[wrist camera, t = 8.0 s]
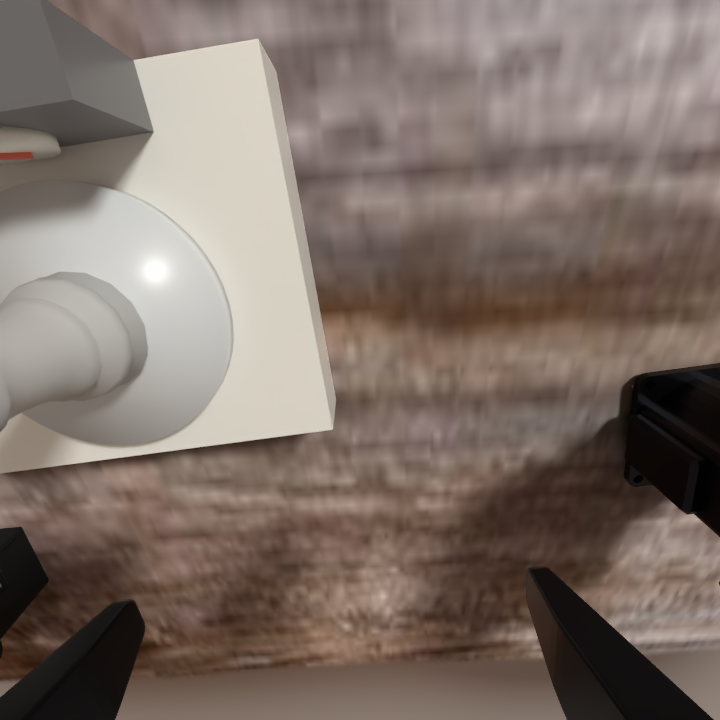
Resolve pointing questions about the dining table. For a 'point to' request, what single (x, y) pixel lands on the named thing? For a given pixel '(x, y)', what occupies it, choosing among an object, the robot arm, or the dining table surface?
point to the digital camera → (17, 576)
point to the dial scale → (160, 237)
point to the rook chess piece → (66, 342)
